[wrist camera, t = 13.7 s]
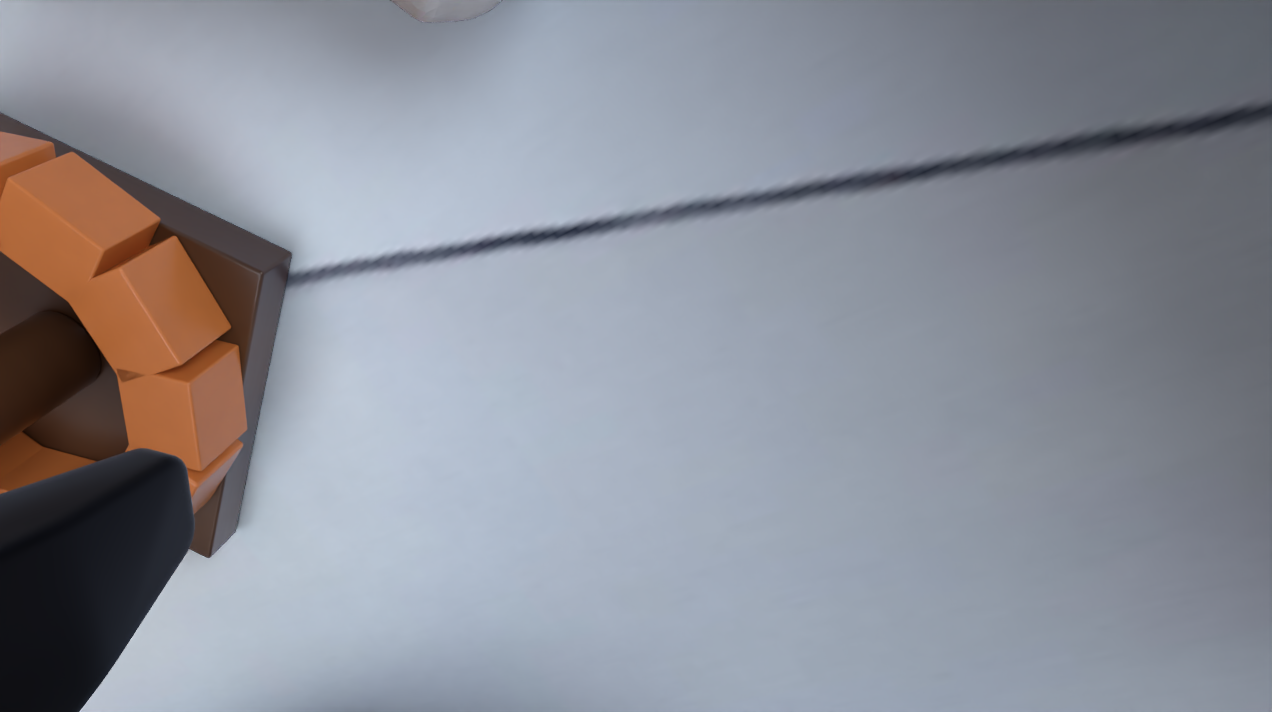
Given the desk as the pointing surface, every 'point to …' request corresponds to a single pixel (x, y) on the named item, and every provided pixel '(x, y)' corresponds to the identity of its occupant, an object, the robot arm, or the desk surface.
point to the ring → (123, 314)
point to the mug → (445, 9)
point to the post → (82, 377)
